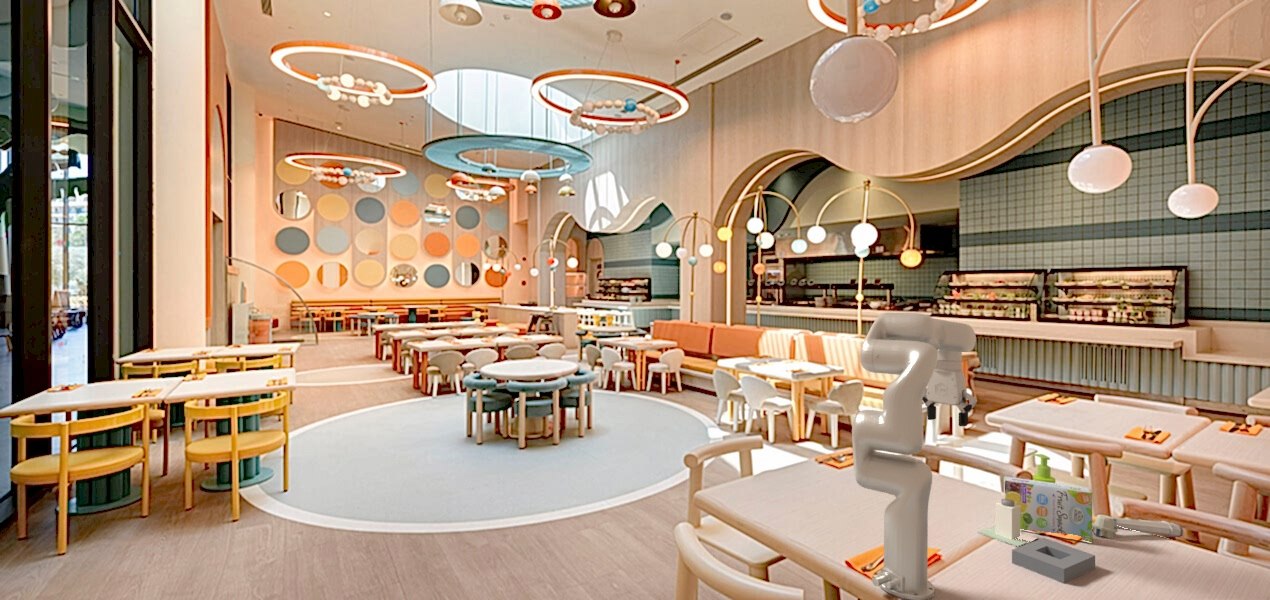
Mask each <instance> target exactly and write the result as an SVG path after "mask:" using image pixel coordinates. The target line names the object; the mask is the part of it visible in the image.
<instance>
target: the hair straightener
mask: <svg viewBox="0 0 1270 600" xmlns="http://www.w3.org/2000/svg"><path fill="white" fill-rule="evenodd" d="M1117 525H1118V526H1117ZM1119 526H1121V527H1119ZM1122 527H1124V528H1128V529H1124V528H1122ZM1092 529H1093V533H1095V534H1094V535H1095V536H1098V535H1099V537H1101V536H1103V537H1105V538H1106V537H1107V539H1110V538H1112V539H1114V538H1113V537H1116V534H1117V533H1118V531H1119V530H1121V531H1122V530H1123V531H1130V532H1133V531H1132V530H1136V531H1140V532H1139V533H1144V534H1151V535H1159V536H1163V537H1166V538H1169V537H1171V538H1181V537H1183V535H1184V529H1183V528H1182V526H1181V524H1177V523H1176V522H1175V523H1174V522H1168V521H1165V520H1161V521H1160V520H1149V519H1147V520H1145V519H1134V518H1133V519H1131V518H1121V517H1112V516H1110V515H1105V514H1097V515H1096V517H1095V521H1094V522H1092ZM1130 529H1131V530H1130ZM1136 531H1135V532H1136ZM1093 533H1092V534H1093Z"/></svg>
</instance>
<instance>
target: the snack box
mask: <svg viewBox="0 0 1270 600" xmlns="http://www.w3.org/2000/svg"><path fill="white" fill-rule="evenodd" d="M1003 499H1010V500H1013V501H1014V504H1016V505H1019V506H1020V529H1024V530H1034V531H1044V532H1051V533H1064V534H1073V535H1078V536H1081V537H1082V539H1083V540H1085V541H1089V542H1092V543H1093V533H1092V529H1093V526H1092V523H1093V492H1092V491H1091V489H1090V488H1089V487H1084V486H1077V485H1069V484H1063V483H1057V482H1055V483H1049V482H1042V481H1035V480H1033V479H1028V478H1020V477H1012V476H1003Z"/></svg>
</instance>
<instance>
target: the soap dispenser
mask: <svg viewBox="0 0 1270 600" xmlns="http://www.w3.org/2000/svg"><path fill="white" fill-rule="evenodd" d="M1033 455H1034V457H1039V458H1040V464H1038V465H1037V474H1033V475H1032V480H1035V481H1042V482H1049V483H1056V478H1054V477H1053V476H1051V466H1049V465H1048V460H1049V461H1050V460H1051V458H1050V457H1049V456H1047V455H1046V454H1042V453H1033Z"/></svg>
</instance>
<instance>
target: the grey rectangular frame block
mask: <svg viewBox="0 0 1270 600" xmlns="http://www.w3.org/2000/svg"><path fill="white" fill-rule="evenodd" d="M1011 564H1014V565H1017V566H1019V567H1022V568H1024V569H1027V570H1029V571H1032V572H1035V573H1037V574H1040V575H1041V576H1045V577H1047V578H1049V579H1052V580H1055V581H1058V582H1060V583H1063V584H1065V583H1067V582H1070V581H1072V580H1074V579H1076V578H1079V577H1080V576H1082V575H1085V574H1087V573H1090V572H1091V571H1094V570H1095V569H1096V555H1095V554H1092V553H1089V552H1086V551H1084V550H1080V549H1077V548H1075V547H1071V546H1069V545H1066V544H1063V543H1060V542H1056V541H1054V540H1051V539H1049V538H1045V537H1043V538H1040V539H1038V540H1036V541H1033V542H1031V543H1028V544H1025V545H1023V546H1020V547H1015V548H1014V549H1011Z"/></svg>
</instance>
